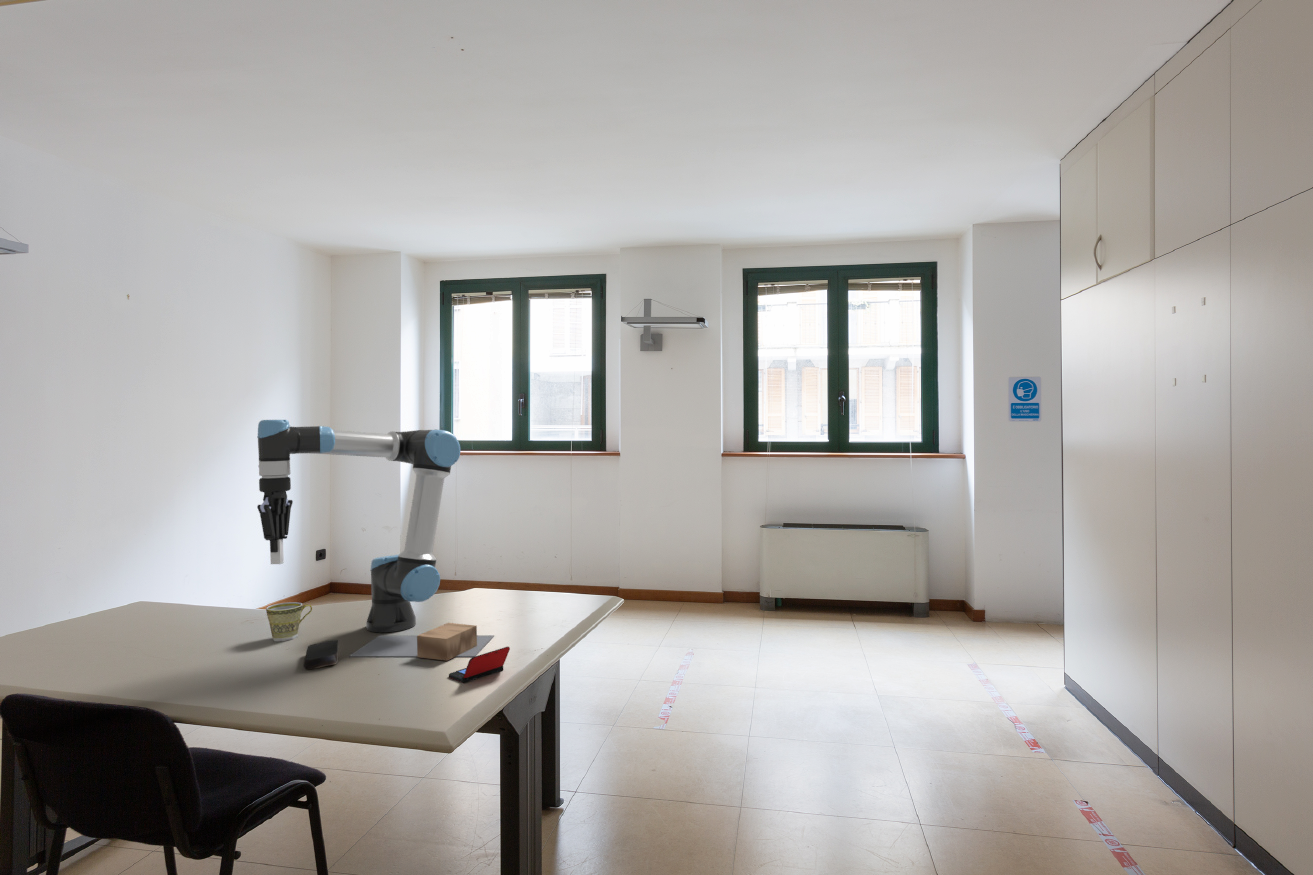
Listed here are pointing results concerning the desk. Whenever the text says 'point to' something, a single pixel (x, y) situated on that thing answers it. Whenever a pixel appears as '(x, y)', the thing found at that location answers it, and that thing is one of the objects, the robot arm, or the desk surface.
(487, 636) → the felt pad
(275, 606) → the ceramic cup
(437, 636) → the walnut block
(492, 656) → the handheld game console
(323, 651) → the black sponge
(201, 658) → the desk surface
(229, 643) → the desk surface
